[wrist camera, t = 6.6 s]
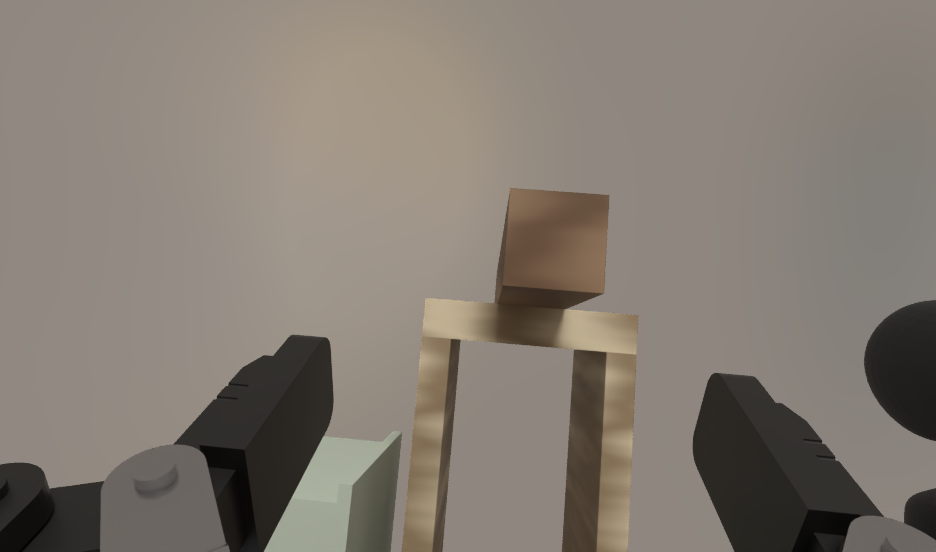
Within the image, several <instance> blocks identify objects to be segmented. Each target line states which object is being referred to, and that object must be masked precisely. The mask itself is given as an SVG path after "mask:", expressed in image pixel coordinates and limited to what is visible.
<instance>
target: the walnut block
mask: <svg viewBox="0 0 936 552" xmlns="http://www.w3.org/2000/svg"><path fill="white" fill-rule="evenodd" d="M608 210H609V195H600V194H586V193H572V192H558V191H544V190H529V189H516V188H510V194H509V200H508V206H507V212H506V219H505V225H504V231H503V238H502V245H501V251H500V257H499V263H498V270H497V278H496V292H495V304H506V305H518V306H530V307H543V308H555V309H567V308H569V307H572V306H574V305H577V304H579V303H582V302H584V301H587V300H589V299H592V298H594V297H597V296H599V295H601V294H604V285H605V284H604V283H605V266H606V247H607V228H608Z"/></svg>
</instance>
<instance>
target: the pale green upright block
mask: <svg viewBox="0 0 936 552" xmlns="http://www.w3.org/2000/svg"><path fill="white" fill-rule="evenodd" d="M324 435H325V434H324ZM401 437H402V432H399V431H393V432H392V433H391V434H390V435H389V436H388V437H387V438H386V439H385V440H384V441H383V442H378V441H367V440H357V439H347V438H336V437H326V436H323V438H322V440H321V442H320V444H319V446H318V448H317V450H316V452H315V454H314V456H313V458H312V459H311V461H310V463H309V465H308V467H307V469H306V471H305V473H304V475H303V477H302V479H301V481H300V483H299V485H298V487H297V489H296V490H295V492H294V494H293V496H292V498H291V500H290V502H289V504H288V506H287V508H286V510H285V512H284V514H283V516H282V518H281V519H280V521H279V523H278V525H277V527H276V529H275V531H274V533H273V535H272V537H271V539H270V541H269V543H268V545H267V547H266V549H265V550H264V552H390V550H391V540H392V530H393V520H394V509H395V499H396V488H397V479H398V468H399V458H400V448H401Z"/></svg>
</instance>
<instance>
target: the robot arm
mask: <svg viewBox="0 0 936 552" xmlns="http://www.w3.org/2000/svg"><path fill="white" fill-rule="evenodd" d="M331 365H332V364H331V348H330V342H329V340H328V339H327V338H325V337H314V336H302V335H291V336H290V337H289V338H288V339H287V340H286V341H285V343H284V344H283V345H282V346H281V347H280V348H279V350H278V351H277V352H276V353H275V354H274V356H265V355H264V356H262V357H260V358H258V359H257V360H255V361H253V362H251V363H250V364H248V365H246V366H245V367H243V368H242V369H241V370H240V371H239V372H238V373H237V375H235V377H234V378H233V379H232V380H231V381H230V382H229V385H228V386H226V387H225V388H224V389H223V390H222V391H221V392H220V393H219V394H218V395H217V399H216V400H213V401H212V402H211V403H210V405H208V407H207V408H206V409H205V410H204V411H203V412H202V413H201V415H199V417H198V418H197V419H196V420H195V421H194V422H193V423H192V425H191V426H190V427H189V428H188V429H187V430H186V431H185V432H184V434H182V436H181V437H180V438H179V439H178V440H177V441H176V442H175V443H174V444H173V445H165V446H160V447H156V448H152V449H149V450H146V451H143V452H141V453H139V454H136V455H134V456H133V457H131V458H129V459H127V460H126V461H124V462H123V463H121V464H120V465H119V466H117V467H116V468H115V469H114V470H113V471H112V472H111V473H110V474H109V475H108V477H107V478H106V480H105V481H102V482H96V483H88V484H80V485H74V486H66V487H58V488H51V489H49V486H48V483H47V480H46V477H45V474H44V472H43V470H42V469H41V468H39V467H38V466H36V465H33V464H29V463H8V464H2V465H0V552H264V550H265V549H266V547H267V545H268V543H269V541H270V539H271V537H272V535H273V533H274V531H275V529H276V527H277V525H278V523H279V521H280V519H281V518H282V516H283V514H284V512H285V510H286V508H287V506H288V504H289V502H290V500H291V498H292V496H293V494H294V492H295V490H296V489H297V487H298V485H299V483H300V481H301V479H302V477H303V475H304V473H305V471H306V469H307V467H308V465H309V463H310V461H311V459H312V458H313V456H314V454H315V452H316V450H317V448H318V446H319V444H320V442H321V440H322V438H323V436H324V434H325V432H326V430H327V428H328V426H329V423H330V420H331V416H332V411H333V381H332V366H331ZM864 366H865V373H866V376H867V381H868V383H869V386H870V388H871V390H872V392H873V394H874V396H875V397H876V399H877V401H878V402H879V404H880V405H881V406H882V407H883V408H884V410H885V411H886V412H887V413H888V414H889V415H890V416H891V417H892V418H893V419H894V420H895V421H897V422H898V423H899V424H900V425H901V426H903V427H904V428H906V429H907V430H909V431H911V432H912V433H914V434H916V435H919V436H921V437H923V438H926V439H929V440H934V441H936V300H932V301H924V302H919V303H914V304H911V305H908V306H905V307H903V308H901V309H899V310H897V311H895V312H894V313H892V314H891V315H889V316H888V317H887V318H885V319H884V320H883V321H882V323H880V324H879V326H878V327H877V328H876V329H875V331H874V332H873V334H872V335H871V337H870V339H869V341H868V344H867V347H866V351H865V358H864ZM693 455H694V461H695V464H696V466H697V469H698V471H699V473H700V476H701V478H702V480H703V482H704V484H705V487H706V489H707V491H708V493H709V496H710V498H711V500H712V502H713V505H714V507H715V509H716V511H717V513H718V516H719V518H720V520H721V523H722V525H723V527H724V529H725V531H726V534H727V536H728V538H729V540H730V543H731V545H732V547H733V549H734V552H936V488H935V489H931V490H927V491H923V492H920V493H917V494H915V495H913V496H912V497H910V498H909V499H908V501H907V502H906V506H905V512H904V523H902V522H899V521H896V520H893V519H889V518H885V517H884V516H883V515H882V514H881V513H880V511H879V510H878V509H877V508H876V506H875V505H874V504H873V503H872V501H871V500H870V499H869V498H868V497H867V495H866V494H865V493H864V492H863V491H862V489H861V488H860V487H859V485H858V484H857V483H856V482H855V481H854V479H853V478H852V477H851V476H850V474H849V473H848V472H847V471H846V469H845V468H844V467H843V466H842V464H841V463H840V462H839V461H836V460H835V456H834V455H833V453H832V452H831V451H830V450H829V448H828V447H827V446H826V445H825V444H822V440H821V439H820V438H819V436H818V435H817V434H816V432H815V431H814V430H813V429H812V428H811V426H810V425H809V424H808V423H807V422H806V421H805V420H804V419H803V418H801V417H800V416H798V415H797V414H796V413H794V412H793V411H792V410H790V409H789V408H787V407H786V406H785V405H783V404H781V403H775V402H774V400H773V399H772V398H771V396H770V395H769V394H768V392H767V391H766V390H765V388H764V387H763V386H762V385H761V384H760V382H759V381H758V380H757V379H756V378H755V377H753V376H745V375H733V374H722V373H714V374H712V375H711V377H710V378H709V380H708V383H707V387H706V390H705V394H704V398H703V402H702V405H701V409H700V413H699V416H698V420H697V424H696V427H695V431H694V436H693Z"/></svg>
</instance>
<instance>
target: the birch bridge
mask: <svg viewBox="0 0 936 552" xmlns="http://www.w3.org/2000/svg"><path fill="white" fill-rule="evenodd" d="M637 333H638V315H628V314H616V313H604V312H603V313H602V312H591V311H579V310H567V309H555V308H543V307H530V306H518V305H506V304H494V303H482V302H469V301H457V300H445V299H432V298H426V301H425V312H424V322H423V334H422V343H421V354H420V364H419V376H418V385H417V396H416V407H415V418H414V429H413V439H412V449H411V459H410V471H409V480H408V491H407V502H406V512H405V523H404V534H403V544H402V552H442V548H443V536H444V524H445V513H446V502H447V490H448V478H449V467H450V455H451V443H452V432H453V420H454V408H455V397H456V385H457V374H458V362H459V350H460V340H473V341H484V342H496V343H507V344H519V345H530V346H543V347H555V348H566V349H574V358H573V375H572V392H571V409H570V426H569V442H568V459H567V476H566V493H565V510H564V526H563V543H562V552H628V532H629V510H630V488H631V465H632V444H633V443H632V442H633V422H634V399H635V377H636V354H637Z"/></svg>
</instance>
